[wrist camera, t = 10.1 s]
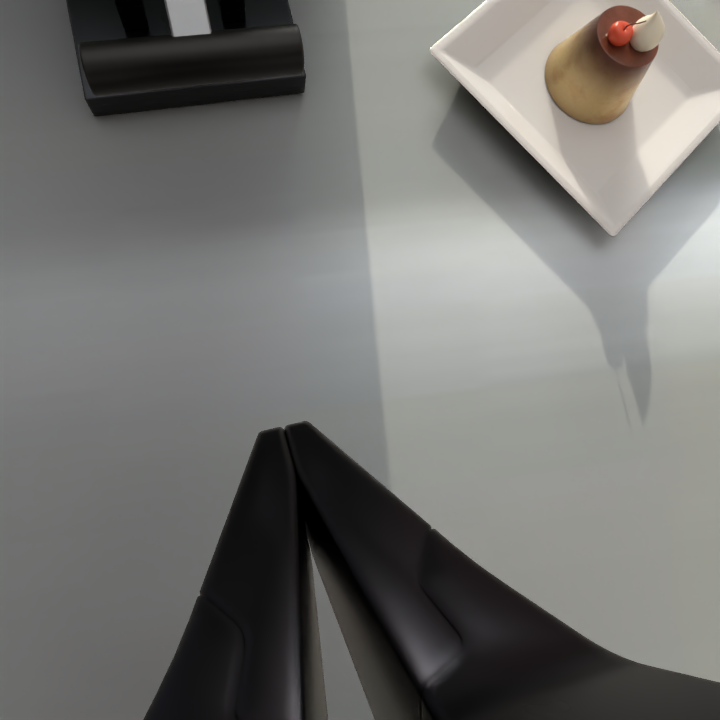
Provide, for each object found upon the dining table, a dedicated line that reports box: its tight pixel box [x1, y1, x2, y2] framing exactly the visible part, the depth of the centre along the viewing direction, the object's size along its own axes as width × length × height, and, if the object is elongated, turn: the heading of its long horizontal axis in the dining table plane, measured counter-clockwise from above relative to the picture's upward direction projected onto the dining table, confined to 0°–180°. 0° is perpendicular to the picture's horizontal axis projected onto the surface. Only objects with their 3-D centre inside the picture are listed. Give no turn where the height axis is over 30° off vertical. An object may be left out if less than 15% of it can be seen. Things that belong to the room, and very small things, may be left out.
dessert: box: [430, 0, 720, 237], centre depth 25 cm, size 12×12×5 cm
